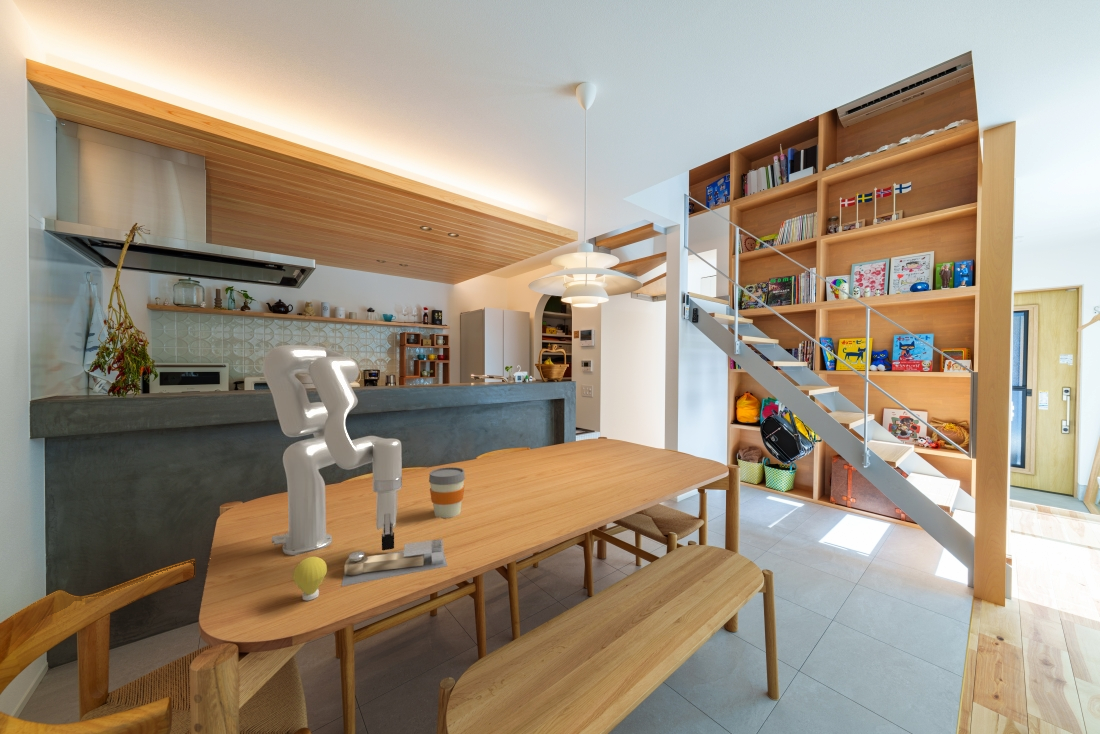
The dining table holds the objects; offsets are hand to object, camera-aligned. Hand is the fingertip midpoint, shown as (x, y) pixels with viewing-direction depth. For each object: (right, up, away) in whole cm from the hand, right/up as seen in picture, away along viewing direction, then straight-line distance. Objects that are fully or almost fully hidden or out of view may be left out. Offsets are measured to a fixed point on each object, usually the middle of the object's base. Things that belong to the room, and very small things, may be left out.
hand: (388, 548), depth 113 cm
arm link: (+3, -1, -8) cm, 8 cm away
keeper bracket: (+12, -1, -5) cm, 13 cm away
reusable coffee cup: (+9, -2, +32) cm, 33 cm away
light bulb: (-9, -3, -21) cm, 23 cm away
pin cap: (-4, +1, -9) cm, 10 cm away
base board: (+4, -3, -5) cm, 7 cm away
